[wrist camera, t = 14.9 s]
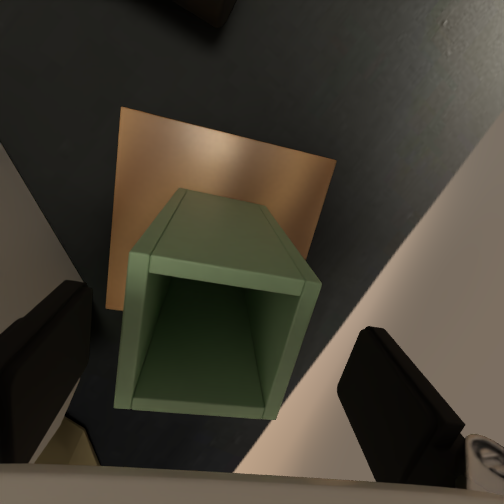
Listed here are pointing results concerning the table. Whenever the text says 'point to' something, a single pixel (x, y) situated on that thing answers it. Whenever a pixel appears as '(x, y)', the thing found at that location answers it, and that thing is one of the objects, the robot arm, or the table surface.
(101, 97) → the table surface
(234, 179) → the cork mat
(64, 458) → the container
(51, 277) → the alarm clock
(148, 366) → the sage tub
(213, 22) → the end cap
